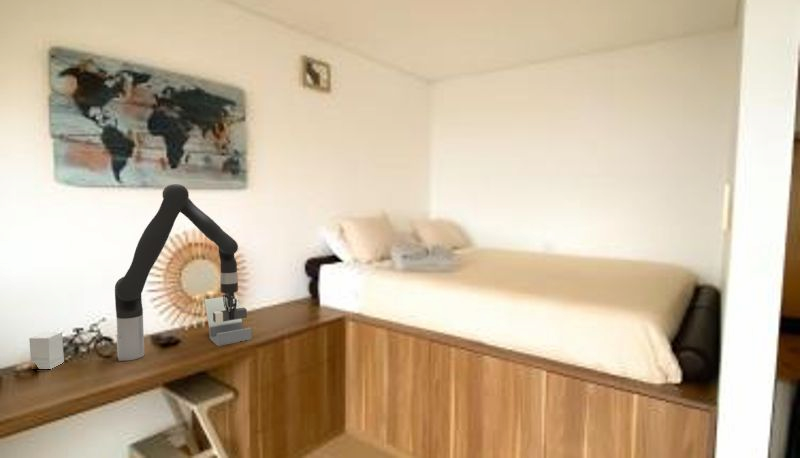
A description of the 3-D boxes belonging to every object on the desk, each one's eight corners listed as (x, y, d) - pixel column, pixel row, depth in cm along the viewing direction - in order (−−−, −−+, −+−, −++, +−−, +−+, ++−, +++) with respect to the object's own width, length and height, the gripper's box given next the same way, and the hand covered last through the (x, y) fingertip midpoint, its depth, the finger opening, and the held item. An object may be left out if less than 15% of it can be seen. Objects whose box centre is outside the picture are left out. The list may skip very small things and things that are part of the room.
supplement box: (64, 363, 173) (63, 331, 173) (49, 370, 166) (48, 338, 165) (46, 363, 173) (44, 331, 173) (30, 370, 166) (28, 337, 165)
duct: (217, 346, 194) (217, 334, 194) (209, 338, 205) (209, 326, 204) (251, 339, 203) (251, 328, 203) (242, 332, 214) (241, 321, 214)
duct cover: (205, 299, 209) (204, 300, 210) (209, 326, 204) (208, 327, 205) (237, 295, 218) (236, 295, 219) (241, 321, 214) (241, 321, 214)
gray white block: (246, 317, 206) (246, 309, 206) (215, 322, 198) (215, 313, 197) (244, 315, 209) (243, 307, 209) (213, 320, 201) (212, 311, 201)
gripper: (242, 283, 199) (243, 320, 200) (232, 278, 210) (233, 313, 211) (225, 285, 194) (226, 323, 196) (216, 280, 206) (217, 316, 207)
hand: (230, 318), depth 203 cm, fingers closed on gray white block, 4 cm apart
